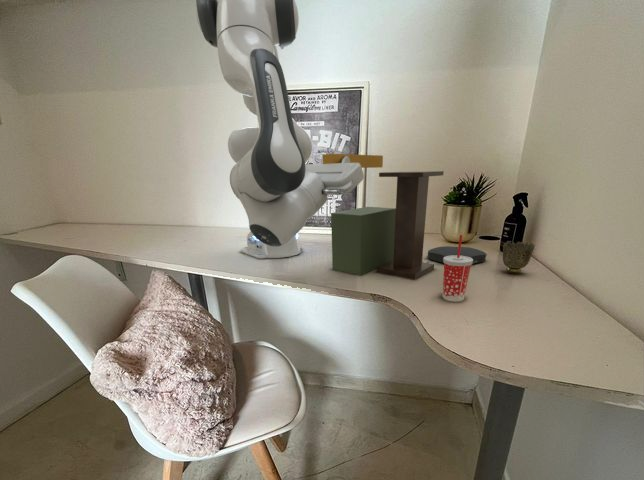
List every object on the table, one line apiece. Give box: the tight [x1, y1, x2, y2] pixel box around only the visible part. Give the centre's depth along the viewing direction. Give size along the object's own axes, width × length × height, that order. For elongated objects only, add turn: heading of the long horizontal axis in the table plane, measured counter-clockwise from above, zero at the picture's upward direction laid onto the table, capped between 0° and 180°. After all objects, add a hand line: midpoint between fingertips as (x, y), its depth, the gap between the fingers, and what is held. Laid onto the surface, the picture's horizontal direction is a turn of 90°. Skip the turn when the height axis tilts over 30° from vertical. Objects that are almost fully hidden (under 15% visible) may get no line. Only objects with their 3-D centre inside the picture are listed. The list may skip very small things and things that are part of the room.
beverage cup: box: [442, 234, 473, 303], centre depth 72 cm, size 6×6×14 cm
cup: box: [502, 240, 536, 275], centre depth 90 cm, size 8×7×8 cm
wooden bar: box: [322, 153, 384, 169], centre depth 86 cm, size 3×22×3 cm, turn 141°
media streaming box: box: [427, 245, 487, 265], centre depth 105 cm, size 15×15×3 cm
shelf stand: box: [376, 170, 444, 281], centre depth 90 cm, size 12×12×26 cm
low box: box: [330, 206, 396, 276], centre depth 98 cm, size 10×18×16 cm, turn 142°
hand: (339, 159), depth 81 cm, fingers closed on wooden bar, 3 cm apart
